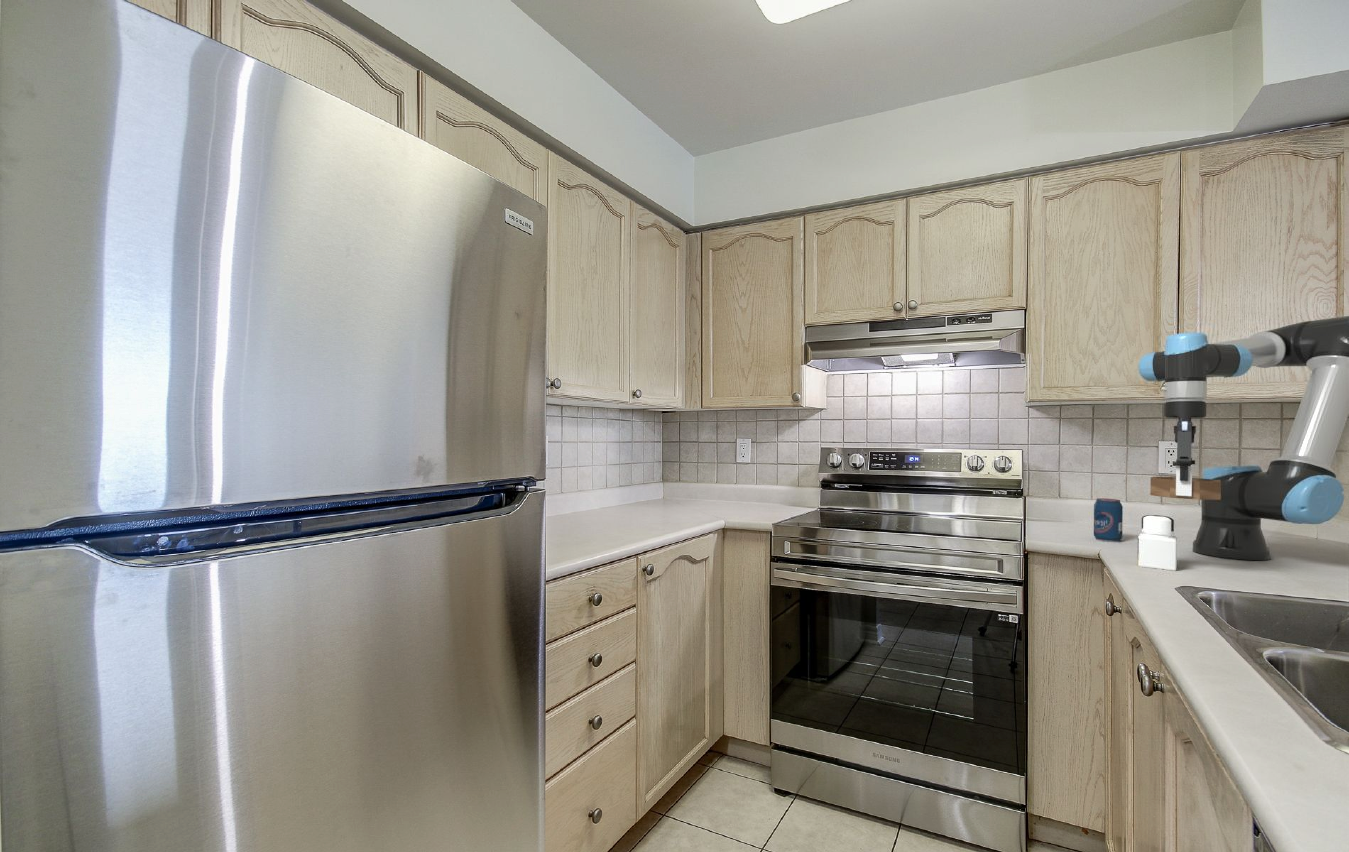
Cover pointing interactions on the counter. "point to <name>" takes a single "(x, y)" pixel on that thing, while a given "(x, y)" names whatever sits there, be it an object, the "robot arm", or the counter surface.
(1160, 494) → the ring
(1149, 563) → the medicine bottle
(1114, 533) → the soda can
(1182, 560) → the counter surface
